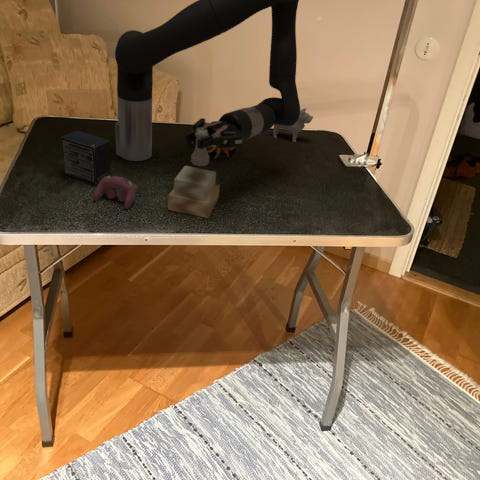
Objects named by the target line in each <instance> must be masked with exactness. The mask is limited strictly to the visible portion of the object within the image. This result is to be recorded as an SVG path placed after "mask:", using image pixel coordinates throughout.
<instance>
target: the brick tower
mask: <svg viewBox="0 0 480 480" xmlns="http://www.w3.org/2000/svg"><path fill="white" fill-rule="evenodd" d="M216 178H217V171H212V170H209V169H203V168H199V167H194V166H189V165H184V166H183V167H182V169H181V170H180V171H179V173H178V174H177V175H176V177H175V178H174V181H173V184H174V185H173V188H172V190H171V191H170V192H169V194H168V196H167V210H169V211H172V212H177V213H183V214H187V215H190V216H196V217H200V218H205V219H208V218H209V216H210V215H211V213H212V211H213V210H214V207H215V206H216V204H217V203H218V200H219V197H220V188H221V186H220V184H216Z"/></svg>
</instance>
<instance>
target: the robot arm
mask: <svg viewBox="0 0 480 480" xmlns="http://www.w3.org/2000/svg"><path fill="white" fill-rule="evenodd" d="M299 1H300V0H196V1H194V2H193V3H190V4H189V5H187V6H186V7H185V8H183V9H182V10H180V11H179V12H177V13H176V14H175V15H174V16H172V17H171V18H170V19H169V20H167V21H166V22H164V23H163V24H161V25H159V26H157V27H155V28H153V29H150V30H148V31H145V32H142V31H140V30H133V29H132V30H127V31H125V32H124V33H123V34H122V35H121V36H120V37H119V38H118V40H117V42H116V46H115V50H114V58H115V61H116V64H117V65H116V67H117V77H116V79H117V81H116V95H117V97H116V98H117V121H116V123H115V127H114V128H115V150H116V151H115V155H116V156H118V157H120V158H122V159H124V160H125V161H131V162H142V161H146V160H149V159H150V158H151V157H152V156H153V155H152V153H153V147H152V146H153V145H152V144H153V143H152V142H153V140H152V139H153V85H154V84H153V81H154V80H153V78H154V77H153V75H154V74H153V73H154V72H153V70H154V66H156V65H158V64H159V63H161V62H163V61H164V60H166V59H168V58H169V57H171V56H173V55H174V54H177V53H179V52H182V51H185V50H187V49H190V48H193V47H195V46H198V45H200V44H202V43H205V42H207V41H209V40H211V39H214V38H216V37H219V36H221V35H222V34H225V33H226V32H228V31H230V30H232V29H233V28H235V27H236V26H239V25H240V24H241V23H243V22H245V21H246V20H248V19H249V18H251V17H252V16H254V15H256V14H257V13H259V12H261V11H263V10H265V9H268V8H271V10H270V11H271V40H270V51H269V52H270V54H269V69H268V70H269V71H268V72H269V74H268V75H269V76H268V84H269V86H270V87H271V88H272V89H275V90H277V91H279V94H280V97H274V96H272V97H268V98H264V99H263V100H262V101H260V102H259V103H257V104H256V105H252V106H249V107H242V108H240V109H236V110H233V111H230V112H226V113H224V114H222V116H220V118H219V119H218V120H216V121H210V122H207V121H206V119H205V118H200V119H198V120H197V121H196V122H195V123H194V124H192V130H191V131H192V132H191V131H189V132H187V133H185V138H184V140H185V141H184V142H185V143H187V144H192V143H191V142H193V143H194V142H196V141H195V140H196V136H195V133H196V131H197V130H198V129H200V130H201V128H203V129H204V131H205V129H206V130H207V131H208V132H207V133H208V134H209V136H207V137H204V138H201V139H199V140H198V144H197V148H199V149H203V148H206V147H209V146H213V147H214V146H218V148H221V149H220V150H222V148H231V147H235V148H238V147H242V145H243V141H246V140H248V139H249V140H250V139H251V138H254V137H255V136H257V135H260V134H262V133H265V132H267V131H269V130H271V129H272V128H273V127H274V124H277V125H284V126H292V125H294V124H295V123H296V122H297V121H298V119H299V116H300V110H301V103H300V99H299V98H300V97H299V93H298V88H297V83H296V78H297V64H298V63H297V62H298V61H297V58H298V52H297V33H296V30H297V29H296V27H297V26H296V25H297V24H296V23H297V12H298V11H297V10H298V6H299ZM226 142H227V143H226ZM224 143H226V144H224Z"/></svg>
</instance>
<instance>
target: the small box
mask: <svg viewBox="0 0 480 480" xmlns="http://www.w3.org/2000/svg"><path fill="white" fill-rule="evenodd" d="M60 140H61V148H62V157H63V159H62V160H63V170H64V172H63V173H64V175H66V176H69V177H71V178H75V179H78V180H81V181H83V182H86V183H88V184H92V185H95V186H98V184H99V182H100V181H101V180H102V179H103V178H104V177H106V176H112V175H111V158H110V157H111V156H110V140H108V139H105V138H103V137H100V136H96V135H92V134H91V133H90V134H89V133H87V132H83V131H80V130H74V131H72V132H70V133H67V134H65V135H62V136H61V137H60Z"/></svg>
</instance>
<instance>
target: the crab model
mask: <svg viewBox="0 0 480 480" xmlns="http://www.w3.org/2000/svg"><path fill="white" fill-rule="evenodd" d="M190 132H192V130H191V131H190ZM190 144H194V142H191V143H190ZM224 144H227V142H226V143H224ZM235 148H236V147H231V148H222V149H221V148H218V146H214V147H213V146H209V147H207V152H208V154H210V153H213V152H214V151H215V150H216V154H215V156H214V157H213V160H217V159H218V157H220V155H221V150H222V152H224V154H225V155H226V157H227V158H229V156H230V153H229V151H232V150H235Z"/></svg>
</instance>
